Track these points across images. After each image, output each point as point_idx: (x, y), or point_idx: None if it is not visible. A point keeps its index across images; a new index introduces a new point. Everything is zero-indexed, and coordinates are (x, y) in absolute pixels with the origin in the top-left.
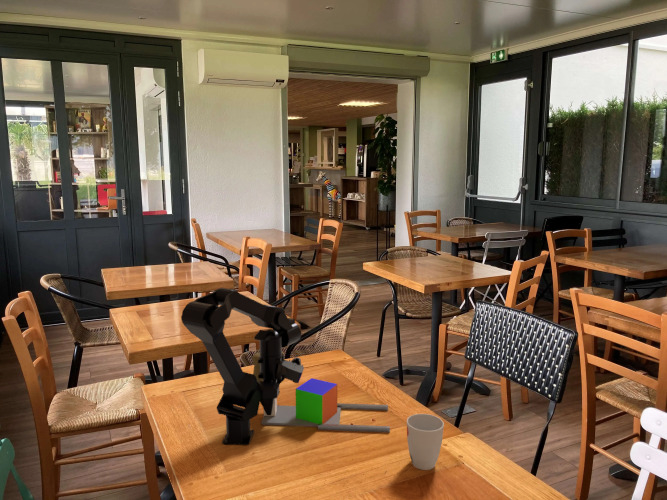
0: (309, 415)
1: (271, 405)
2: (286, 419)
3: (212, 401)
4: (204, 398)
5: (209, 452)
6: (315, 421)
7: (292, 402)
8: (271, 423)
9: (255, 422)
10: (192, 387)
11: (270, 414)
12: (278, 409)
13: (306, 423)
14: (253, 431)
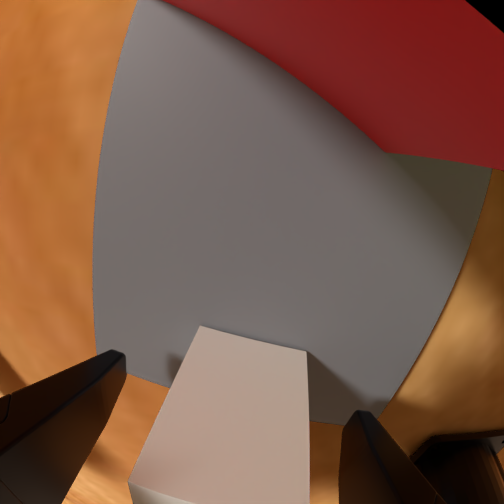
0: (501, 29)
1: (431, 496)
2: (395, 254)
3: (100, 488)
4: (87, 491)
5: None
6: (499, 10)
7: (28, 165)
8: (403, 371)
9: (319, 436)
10: None
11: (370, 417)
12: (166, 306)
13: None
14: (445, 441)
